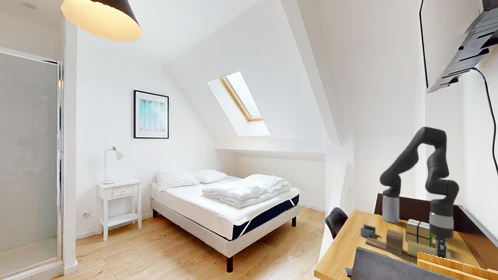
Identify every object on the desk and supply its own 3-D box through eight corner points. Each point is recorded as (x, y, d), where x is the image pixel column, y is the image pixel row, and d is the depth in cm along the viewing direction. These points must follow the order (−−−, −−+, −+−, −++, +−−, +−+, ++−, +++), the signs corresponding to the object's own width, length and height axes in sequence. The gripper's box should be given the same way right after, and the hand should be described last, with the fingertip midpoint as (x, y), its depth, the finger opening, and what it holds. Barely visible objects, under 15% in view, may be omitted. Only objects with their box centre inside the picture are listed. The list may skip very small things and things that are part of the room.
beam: (368, 238, 105) (368, 223, 105) (402, 249, 95) (402, 232, 95) (365, 243, 100) (365, 227, 100) (401, 255, 90) (401, 237, 90)
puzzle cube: (408, 235, 110) (409, 218, 110) (432, 242, 103) (432, 224, 103) (405, 241, 104) (405, 223, 104) (430, 249, 96) (430, 229, 96)
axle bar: (407, 250, 92) (408, 240, 92) (449, 263, 83) (449, 252, 83) (407, 253, 90) (407, 243, 90) (450, 268, 80) (450, 256, 80)
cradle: (363, 230, 115) (364, 224, 115) (375, 234, 111) (375, 227, 111) (360, 235, 109) (360, 228, 109) (372, 239, 105) (372, 232, 105)
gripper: (455, 232, 76) (455, 275, 76) (451, 221, 86) (451, 259, 86) (429, 226, 81) (429, 266, 81) (429, 217, 91) (428, 252, 91)
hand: (440, 262), depth 83 cm, fingers closed on axle bar, 4 cm apart
